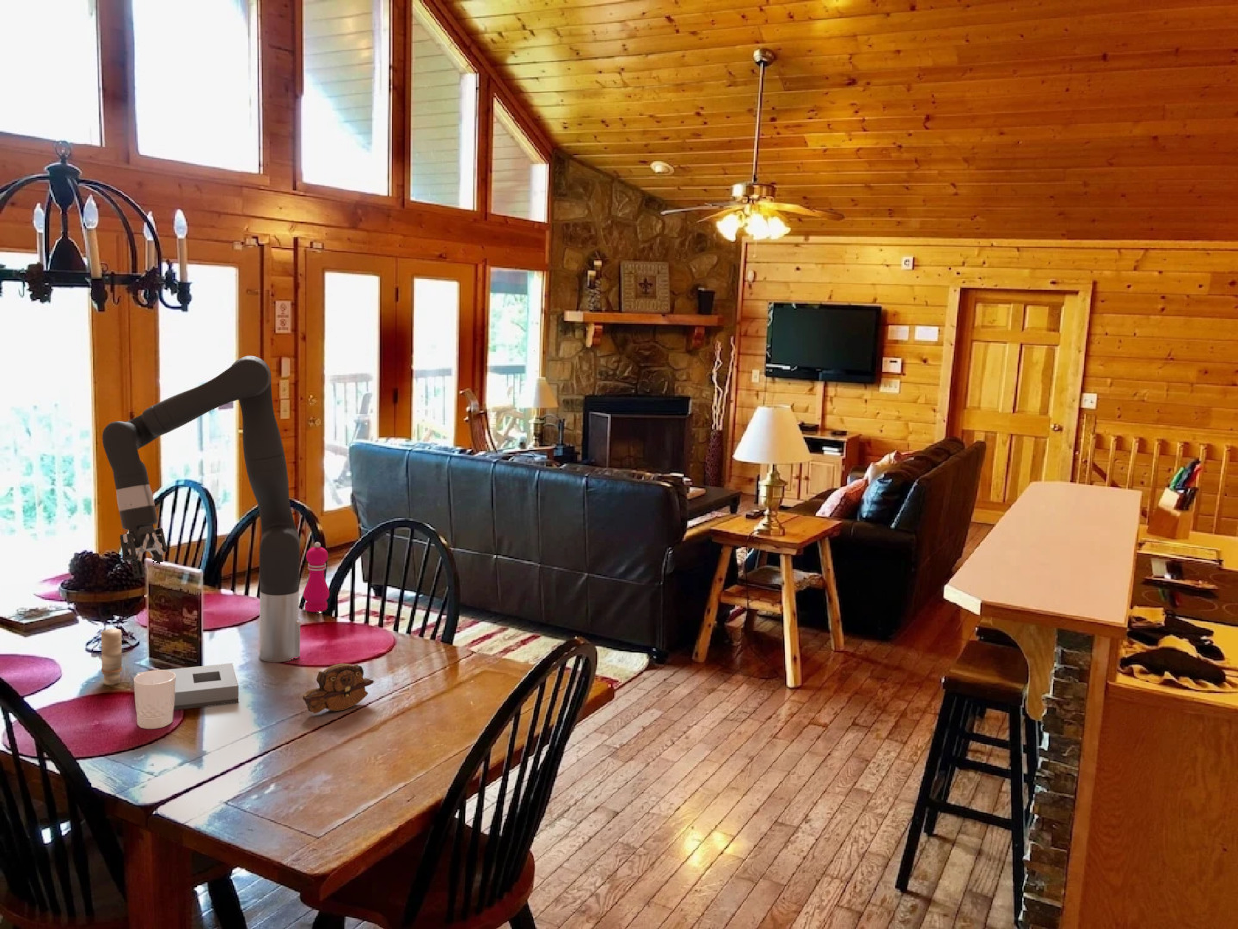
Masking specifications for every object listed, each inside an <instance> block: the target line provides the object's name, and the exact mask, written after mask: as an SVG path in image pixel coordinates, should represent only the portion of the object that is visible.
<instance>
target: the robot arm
mask: <svg viewBox="0 0 1238 929" xmlns="http://www.w3.org/2000/svg"><path fill="white" fill-rule="evenodd" d="M272 391H273V390H272V372H271V369H270V366H269V365H268V364H267V362H265V361H264V360H263V359H262V358H260V357H257V356H255V355H246V356H243V357H240V358H238V359H237V360H235V361H234V362H233V363H232V364H231V366H229V367H228V368H227V369H225V370H224V371H222V372H221V373H220V374H219V375H217V376H216V377H213V378H212V379H210V380H208V381H207V382H205V383H202V384H200V385H198V386H195V387H193V388H191V389H187V390H186V391H183V392H179V393H178V394H175V395H172V396H171V397H168V398H166V399H164V400H162V401H159V402H157V403H155V404H154V405H152V406H149V407H148V408H146V409H144V410H143V412H142V414H140V415H138V416H136V417H134V418H132V419H129V420H127V421H121V420H117V421H112V422H110V423H108V424H107V425H106V426H105V427H104V429H103V431H102V437H101V438H102V446H103V449H104V452H105V455H106V458H107V460H108V463H109V465H110V467H111V469H112V472H113V473H112V474H113V480H114V486H115V491H116V502H117V508H118V512H119V517H120V523H121V527H122V529H123V530H128V533H124V534H122V533H121V534H120V535H119V540H120V541H119V542H120V546H121V553H122V557H123V558H122V559H123V561H127V562H128V563H130V564H131V569H132V574H133V577H134V579H140V578H144V577H145V575H146V574H145V568H144V564H143V560H142V559H143V554H144V553H145V552H148V553H149V554H150V556H151V560H154V561H157V562H156V563H159V564H160V562H164V558H163V556H164V555H165V553H167V552H168V546H167V543H166V538H165V533H164V530H163V528H162V527H158V528H154V525H155V524H158V522H159V520H158V515H157V510H156V505H155V500H154V494H153V491H152V489H151V485H150V480H149V475H148V471H147V467H146V465H145V463H144V462H143V461H142V459H141V458H140V454H139V451H138V450H139V449H141V448H143V447H145V446H147V445H149V444H150V443H151V442H153V441H154V440H156V439H158V438H159V437H161V436H163V435H165V434H168V433H171V432H172V431H174V430H176V429H178V428H180V427H183V426H185V425H187V424H188V423H190V422H192V421H194V420H196V419H198V418H199V417H201V416H204V415H205V414H206V413H209V412H211V411H213V410H215V409H217V408H220V407H222V406H224V405H227V404H230V403H232V402H236V401H238V402H239V406H240V410H241V411H240V412H241V415H242V448H243V449H242V450H243V458H244V463H245V464H244V465H245V470H246V473H247V478H248V481H249V485H250V487H251V490H252V493H253V495H254V498H255V500H256V502H257V506H258V510H259V517H260V529H261V539H260V540H261V541H260V545H259V639H258V640H259V643H258V644H259V645H258V646H259V647H258V648H259V649H258V650H259V651H258V652H259V654H258V656H259V659H260V660H261V661H264V662H267V663H268V662H269V663H282V662H283V663H285V662H288V661H289V662H290V661H291V660H290V659H292V658H294V657H299V656H300V657H301V655H300V654H301V652H300V651H301V621H300V619H299V618H300V616H299V614H300V605H299V604H300V559H301V556H300V554H301V550H300V549H301V538H300V535H299V532H298V530H297V526H296V523H295V519H294V516H293V513H292V512H293V511H292V507H291V503H290V492H289V491H290V490H289V486H290V485H289V475H288V466H287V461H286V455H285V449H284V446H283V445H284V444H283V440H282V436H281V433H280V429H279V426H278V422H277V420H276V415H275V411H274V404H273V392H272ZM128 553H129V554H128ZM154 561H152V566H153V565H154V564H153V563H154ZM292 660H293V659H292Z"/></svg>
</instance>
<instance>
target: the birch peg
mask: <svg viewBox="0 0 1238 929" xmlns="http://www.w3.org/2000/svg"><path fill="white" fill-rule="evenodd" d="M100 633H101V636H100V638H101V670H100V671H101V673H102V675H103V682H104V683H103V684H104V685H108V686H112V685H113V686H114V685H117V684H118V685H119V683H120V682H121V673H122V672H123V663H122V662H123V661H122V660H123V659H122V658H123V657H122V655H123V654H122V653H123V652H122V651H123V650H122V630H121V629H119V628H109V629H105V630H102V631H101V632H100Z"/></svg>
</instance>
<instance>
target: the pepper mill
mask: <svg viewBox="0 0 1238 929" xmlns="http://www.w3.org/2000/svg"><path fill="white" fill-rule="evenodd" d="M305 554H306V556H305V557H306V558H305V559H306V561H307V562H308V563H307V569H308V570H309V571H308V572H309V576H308V581H307V582H306V585H305V587H304V589H303V594H302V595H303V599H304V600H305V603H304V610H305V611H306V612H309V613H319V612H324V611H326V610H327V609H328V601H327V600H328V599H329V597H330V589H329V586H328V584H327V582H326V579H325V570H326V569H327V566H326V565H327V563H326V562H327V560H329V559H328V558H329V553H328V550H326V549H325V547H322V545H321V542H319V541H316V542H315V543H314V547H313V546H312V547H310V548H309V549H308V550H307V551H306V553H305Z"/></svg>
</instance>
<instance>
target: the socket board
mask: <svg viewBox="0 0 1238 929" xmlns="http://www.w3.org/2000/svg"><path fill="white" fill-rule="evenodd" d="M166 670H167V671H171V672H174V673H175V674H176V683H175V702H174V709H173V711H178V710H179V709H180V710H186V709H187V710H188V709H196V708H205V707H212V706H213V707H214V706H221V705H232V704H239V703H240V702H239V695H240V694H239V690H240V689H239V686H240V685H239V683H238V679H237V676H236V674H237V673H236V672H235V668H234V665H233V663H232V662H230V663H221V664H209V665H201V666H199V665H198V666H191V667H190V666H189V667H181V668H179V667H178V668H170V669H166ZM143 672H144V671H140V672H136V676H137V675H138V674H141V673H143ZM180 710H179V711H180Z"/></svg>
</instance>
